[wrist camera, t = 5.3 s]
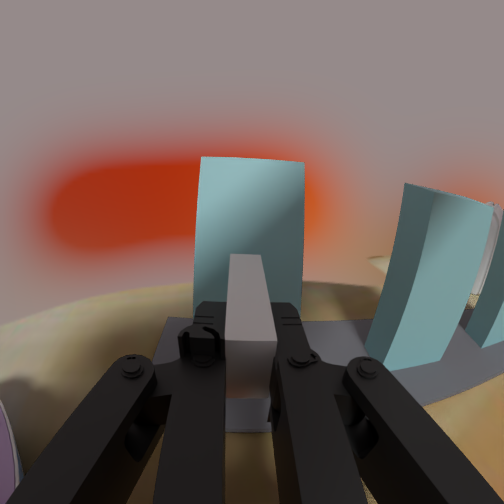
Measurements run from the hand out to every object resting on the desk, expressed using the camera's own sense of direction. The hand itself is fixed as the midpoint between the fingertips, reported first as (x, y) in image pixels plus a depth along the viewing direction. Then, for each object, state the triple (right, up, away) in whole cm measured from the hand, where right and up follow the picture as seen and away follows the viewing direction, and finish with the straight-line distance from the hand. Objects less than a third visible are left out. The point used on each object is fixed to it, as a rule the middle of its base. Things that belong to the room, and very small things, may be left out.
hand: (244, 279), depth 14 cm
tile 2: (+12, -6, +3) cm, 14 cm away
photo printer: (+33, -4, +16) cm, 37 cm away
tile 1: (+24, -7, +4) cm, 25 cm away
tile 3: (0, -5, +2) cm, 6 cm away
